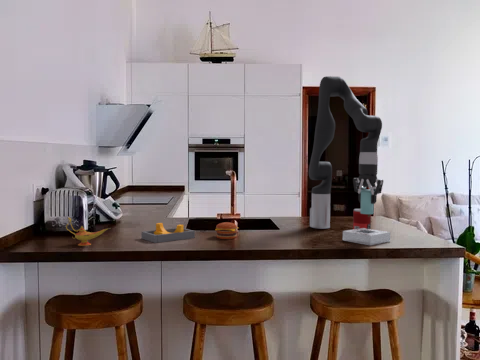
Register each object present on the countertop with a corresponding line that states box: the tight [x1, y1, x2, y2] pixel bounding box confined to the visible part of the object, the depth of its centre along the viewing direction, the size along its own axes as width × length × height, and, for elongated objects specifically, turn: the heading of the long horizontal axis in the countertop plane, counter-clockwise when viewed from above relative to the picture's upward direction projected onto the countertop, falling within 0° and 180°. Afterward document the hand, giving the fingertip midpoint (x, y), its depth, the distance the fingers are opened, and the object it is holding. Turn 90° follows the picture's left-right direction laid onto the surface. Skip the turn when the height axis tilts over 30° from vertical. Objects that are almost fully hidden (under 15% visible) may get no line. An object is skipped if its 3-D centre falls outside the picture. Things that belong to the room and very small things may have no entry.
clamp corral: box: [141, 227, 196, 244], centre depth 196 cm, size 12×19×3 cm, turn 129°
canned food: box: [352, 208, 372, 230], centre depth 213 cm, size 8×8×11 cm
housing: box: [342, 228, 391, 246], centre depth 192 cm, size 14×14×4 cm
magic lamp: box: [65, 216, 111, 247], centre depth 180 cm, size 7×18×11 cm, turn 88°
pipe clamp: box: [154, 222, 185, 235], centre depth 195 cm, size 12×4×6 cm, turn 71°
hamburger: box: [214, 221, 239, 240], centre depth 199 cm, size 9×10×7 cm
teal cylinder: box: [360, 189, 375, 215], centre depth 191 cm, size 5×5×10 cm
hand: (367, 202), depth 191 cm, fingers closed on teal cylinder, 5 cm apart
